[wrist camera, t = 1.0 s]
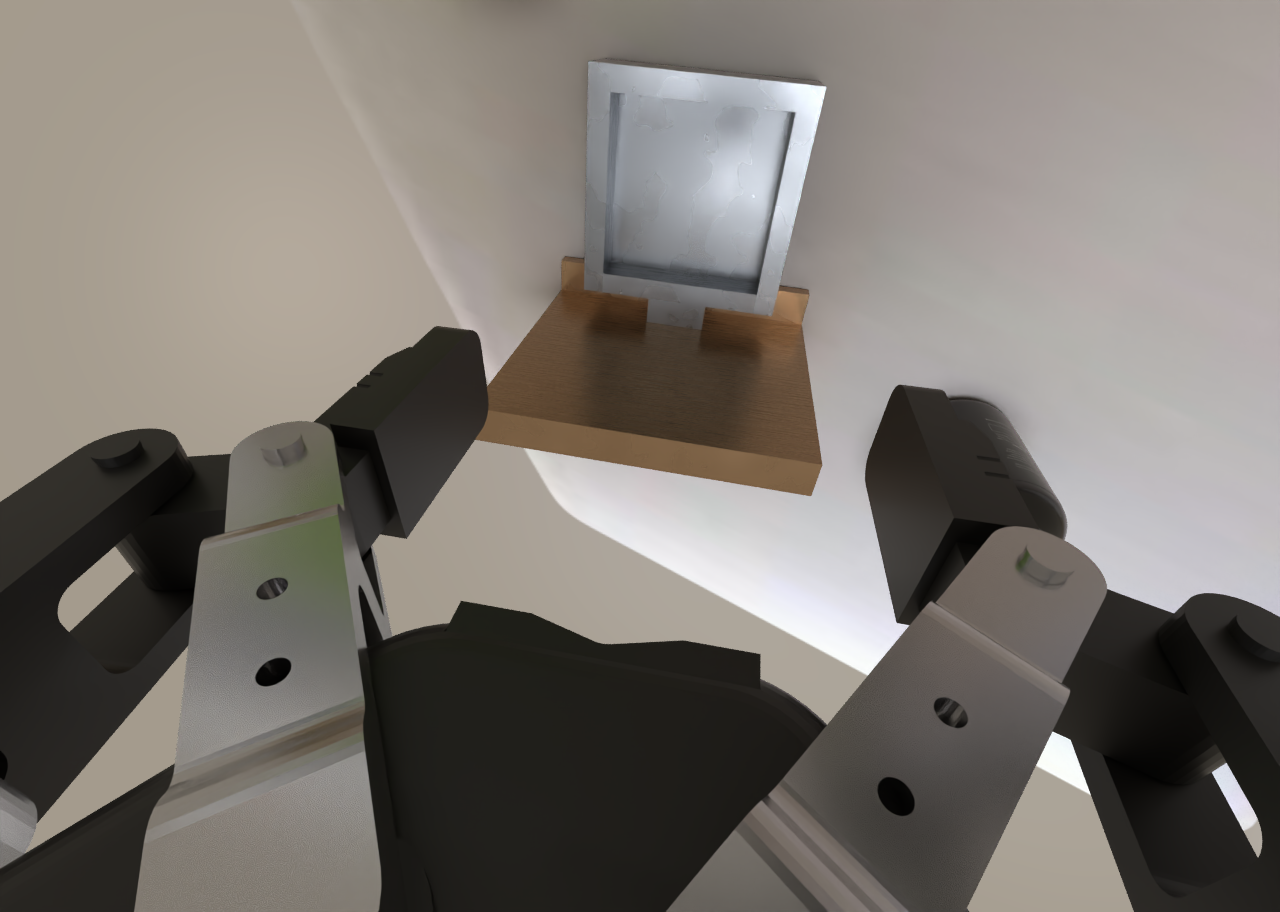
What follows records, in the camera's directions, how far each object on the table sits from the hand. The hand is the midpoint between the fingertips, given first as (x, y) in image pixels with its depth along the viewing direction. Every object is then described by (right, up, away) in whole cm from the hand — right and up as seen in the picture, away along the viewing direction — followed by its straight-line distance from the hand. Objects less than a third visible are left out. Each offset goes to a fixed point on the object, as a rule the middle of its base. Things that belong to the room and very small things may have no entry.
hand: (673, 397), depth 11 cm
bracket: (+2, +11, +20) cm, 23 cm away
